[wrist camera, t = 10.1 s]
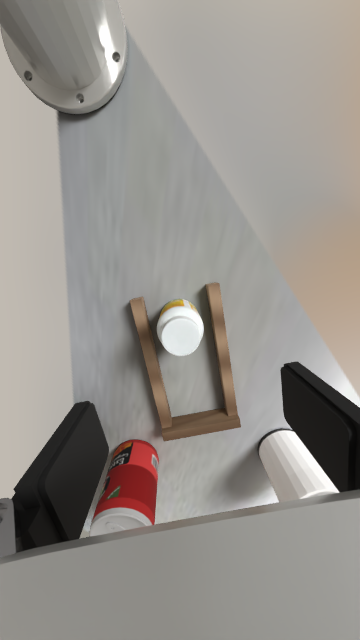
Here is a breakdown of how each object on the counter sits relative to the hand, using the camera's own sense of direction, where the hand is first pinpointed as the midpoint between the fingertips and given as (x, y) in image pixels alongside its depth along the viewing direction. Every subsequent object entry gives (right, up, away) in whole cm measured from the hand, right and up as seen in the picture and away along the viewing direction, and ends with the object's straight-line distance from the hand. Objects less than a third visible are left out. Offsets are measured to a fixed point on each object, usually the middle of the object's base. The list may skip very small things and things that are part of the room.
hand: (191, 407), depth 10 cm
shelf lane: (+1, -2, +21) cm, 21 cm away
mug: (+18, -18, +26) cm, 37 cm away
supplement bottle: (-1, +5, +20) cm, 20 cm away
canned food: (-8, -20, +26) cm, 33 cm away
